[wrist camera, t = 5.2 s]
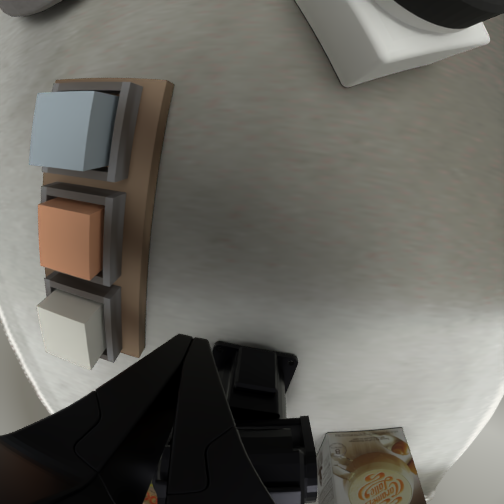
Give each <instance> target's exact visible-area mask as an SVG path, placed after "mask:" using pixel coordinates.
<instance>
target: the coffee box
mask: <svg viewBox="0 0 504 504" xmlns="http://www.w3.org/2000/svg"><path fill="white" fill-rule="evenodd" d="M316 459H317V474H318V487H317V488H318V502H319V504H426V501H425V497H424V494H423V490H422V487H421V484H420V480H419V477H418V474H417V471H416V468H415V464H414V461H413V458H412V455H411V452H410V449H409V446H408V443H407V440H406V437H405V435H404V432H403V428H395V429H385V430H374V431H359V432H336V433H327V434H326V436H325V439H324V441H323V444H322V446H321V448H320V450H319V453H318V455H317V457H316Z"/></svg>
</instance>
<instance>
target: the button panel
mask: <svg viewBox="0 0 504 504" xmlns="http://www.w3.org/2000/svg"><path fill="white" fill-rule="evenodd" d="M173 88H174V84H173V83H171V82H169V81H167V80H156V79H136V78H83V79H64V80H56V82H55V83H54V84H53V89H52V92H66V91H97V92H102V93H106V94H110V95H115V96H119V101H118V107H117V112H116V118H115V124H114V130H113V136H112V143H111V150H110V158H109V166H104V167H100V168H95V169H91V170H87V171H76V170H69V169H61V168H52V167H44V166H42V172H44V173H43V186H41V203H43V202H46V201H49V200H51V199H54V198H57V197H61V198H67V199H72V200H78V201H83V202H88V203H94V204H99V205H104V206H105V213H104V233H103V269H102V270H101V271H100V272H99V273H98V274H97V275H96V276H94V277H93V278H92V279H91V280H90V281H89V280H85V279H82V278H79V277H75V276H72V275H69V274H66V273H62V272H59V271H56V270H53V269H50V268H47V267H45V274H46V278H44V279H45V288H46V296H49V295H50V294H51V293H52V292H53V291H54V290H56V289H59V290H62V291H65V292H68V293H71V294H74V295H77V296H80V297H84V298H87V299H90V300H93V301H96V302H100V303H103V304H104V320H105V334H106V346H107V347H106V349H105V350H104V352H103V353H102V355H101V356H100V358H101V359H104V360H107V361H110V362H113V363H114V362H115V360H116V358H117V357H118V355H119V354H120V352H121V353H124V354H127V355H130V356H134V357H137V358H139V357H140V355H141V353H142V352H143V350H144V348H145V317H146V291H147V274H148V259H149V247H150V236H151V226H152V216H153V207H154V199H155V191H156V184H157V176H158V170H159V163H160V157H161V150H162V144H163V139H164V133H165V127H166V122H167V117H168V112H169V107H170V102H171V97H172V93H173Z"/></svg>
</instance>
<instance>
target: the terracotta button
mask: <svg viewBox="0 0 504 504" xmlns="http://www.w3.org/2000/svg"><path fill="white" fill-rule="evenodd" d="M104 213H105V206H104V205H99V204H94V203H88V202H83V201H78V200H72V199H67V198H61V197H57V198H54V199H51V200H49V201H46V202H43V203H41V204H38V230H39V250H40V263H41V266H43V267H47V268H50V269H53V270H56V271H59V272H62V273H66V274H69V275H72V276H75V277H79V278H82V279H85V280H89V281H90V280H91V279H92V278H93V277H94V276H96V275H97V274H98V273H99V272H100V271H101V270H102V269H103V233H104Z"/></svg>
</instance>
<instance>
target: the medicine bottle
mask: <svg viewBox="0 0 504 504" xmlns="http://www.w3.org/2000/svg"><path fill="white" fill-rule="evenodd" d="M295 1H296V3H297V5H298V6H299V8H300V9H301V11H302V13H303V14H304V16H305V17H306V19H307V21H308V22H309V24H310V26H311V28H312V29H313V31H314V33H315V34H316V36H317V38H318V40H319V42H320V43H321V45H322V47H323V49H324V51H325V52H326V54H327V56H328V58H329V60H330V62H331V64H332V66H333V68H334V70H335V72H336V74H337V76H338V78H339V80H340V82H341V84H342V85H343V86H344V87H351V86H355V85H358V84H361V83H364V82H367V81H370V80H374V79H377V78H380V77H384V76H387V75H391V74H394V73H398V72H401V71H405V70H409V69H413V68H417V67H421V66H425V65H429V64H432V63H435V62H437V61H440V60H443V59H445V58H448V57H451V56H453V55H456V54H459V53H462V52H465V51H468V50H471V49H474V48H477V47H480V46H483V45H486V44H488V43H489V42H490V37H489V35H488V33H487V30H486V28H485V26H484V24H483V21H485V20H487V19H490V18H492V17H495V16H497V15H500V14H503V13H504V0H295Z"/></svg>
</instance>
